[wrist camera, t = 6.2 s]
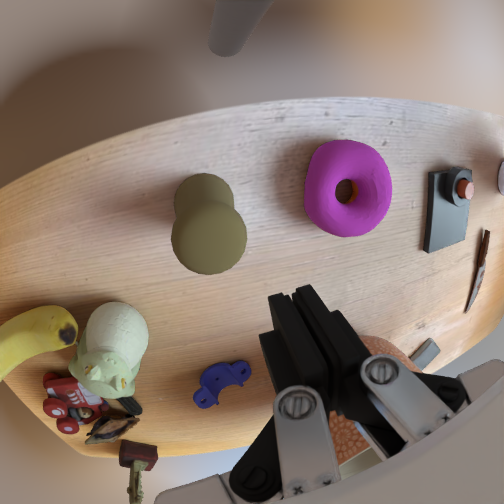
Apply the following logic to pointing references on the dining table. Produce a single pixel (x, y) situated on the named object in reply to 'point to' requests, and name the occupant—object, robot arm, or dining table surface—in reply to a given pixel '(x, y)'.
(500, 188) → the soap bottle
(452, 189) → the push button panel
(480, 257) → the kitchen knife
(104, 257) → the dining table surface
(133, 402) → the folding knife
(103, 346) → the figurine
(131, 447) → the small statue on base
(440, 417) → the robot arm
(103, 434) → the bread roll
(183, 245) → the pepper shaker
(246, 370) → the bracket
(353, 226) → the donut
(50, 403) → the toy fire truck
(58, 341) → the banana
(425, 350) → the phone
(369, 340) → the planter
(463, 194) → the button
